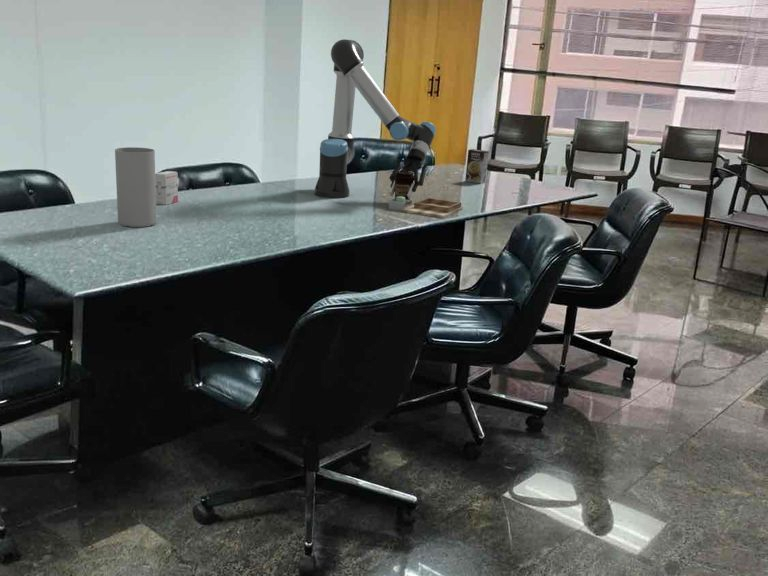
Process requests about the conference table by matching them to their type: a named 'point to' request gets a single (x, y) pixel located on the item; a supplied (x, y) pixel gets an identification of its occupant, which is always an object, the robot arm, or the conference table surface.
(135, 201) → the cylinder vase
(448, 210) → the tray
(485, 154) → the coffee box
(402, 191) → the coffee cup
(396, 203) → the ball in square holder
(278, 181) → the conference table surface
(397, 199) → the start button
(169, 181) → the ink box
